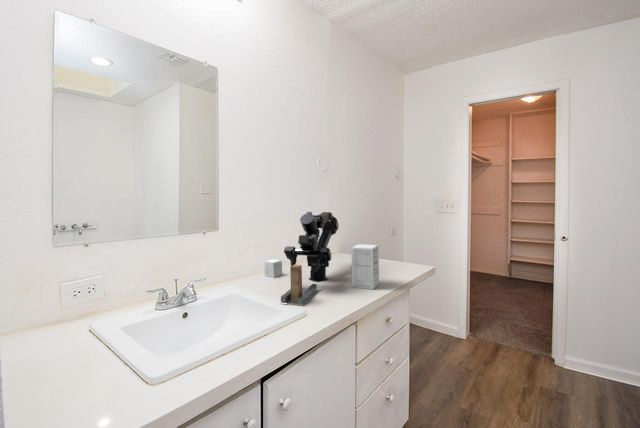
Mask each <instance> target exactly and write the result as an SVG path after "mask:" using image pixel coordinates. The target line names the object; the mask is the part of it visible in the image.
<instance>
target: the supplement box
mask: <svg viewBox="0 0 640 428" xmlns="http://www.w3.org/2000/svg"><path fill="white" fill-rule="evenodd" d="M379 250H380V249H379V245H378V244H362V243H360V244H355V245H354V246H352V247H351V287H352V288H357V289H358V288H359V289H365V290H374V289H376V288H377V287H378V285H380V266H379V265H380V264H379V263H380V262H379V261H380V258H379V254H380V253H379V252H380V251H379Z"/></svg>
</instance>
